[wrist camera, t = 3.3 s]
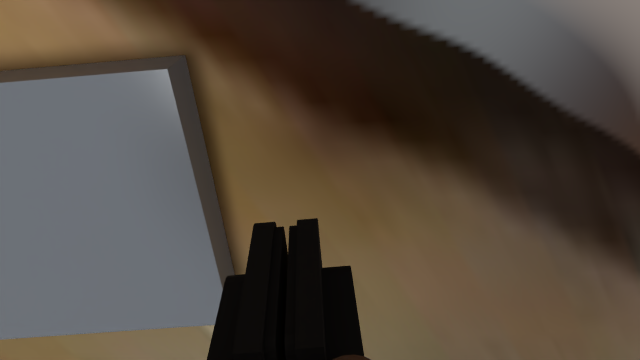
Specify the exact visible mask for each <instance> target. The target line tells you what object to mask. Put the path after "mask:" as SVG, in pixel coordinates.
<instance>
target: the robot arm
mask: <svg viewBox="0 0 640 360" xmlns="http://www.w3.org/2000/svg"><path fill="white" fill-rule="evenodd" d="M207 360H371V359H369V358H367V357H364V352H363V346H362V339H361V332H360V325H359V319H358V312H357V305H356V298H355V292H354V285H353V278H352V272H351V266H340V267H328V268H322V260H321V249H320V239H319V228H318V219H317V218H316V219H304V220H297V226H290V227H289V248H288V252H287V245H286V238H285V231H284V227H276V223H275V222H267V223H255V224H254V226H253V232H252V238H251V244H250V250H249V256H248V262H247V267H246V273H245V274H243V275H230V276H227V277H226V279H225V282H224V286H223V291H222V295H221V300H220V304H219V309H218V313H217V317H216V322H215V326H214V331H213V335H212V339H211V344H210V348H209V353H208V357H207Z"/></svg>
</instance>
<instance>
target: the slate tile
mask: <svg viewBox="0 0 640 360" xmlns="http://www.w3.org/2000/svg"><path fill="white" fill-rule="evenodd" d="M230 275H235V274H234V269H233V265H232V260H231V256H230V252H229V247H228V243H227V238H226V234H225V230H224V225H223V221H222V216H221V212H220V207H219V203H218V199H217V194H216V190H215V185H214V181H213V176H212V172H211V168H210V163H209V159H208V154H207V150H206V145H205V141H204V137H203V132H202V128H201V123H200V119H199V114H198V110H197V106H196V101H195V97H194V92H193V88H192V84H191V79H190V75H189V70H188V66H187V61H186V57H185V55H181V56H169V57H157V58H146V59H134V60H122V61H110V62H98V63H87V64H75V65H63V66H51V67H40V68H28V69H16V70H4V71H0V339H14V338H28V337H43V336H57V335H72V334H86V333H101V332H116V331H130V330H145V329H159V328H174V327H188V326H203V325H215V322H216V317H217V313H218V309H219V304H220V300H221V295H222V291H223V286H224V282H225V279H226V277H227V276H230Z"/></svg>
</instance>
